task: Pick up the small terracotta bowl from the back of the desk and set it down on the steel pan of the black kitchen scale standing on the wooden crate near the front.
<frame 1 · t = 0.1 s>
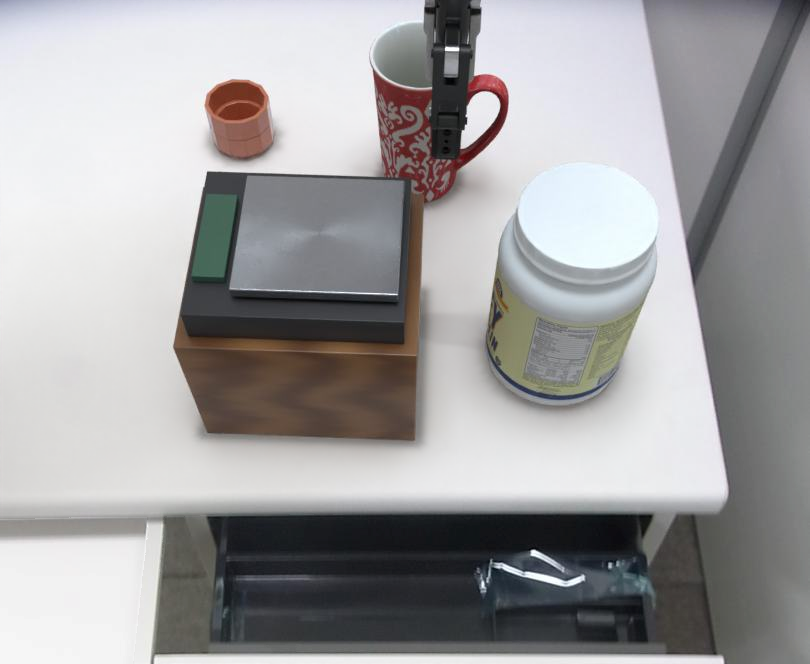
hand: (446, 117, 66), 16 cm above the table, tool pointing down, fingers open, 8 cm apart
scale pan: (320, 236, 62), point 15 cm above the table, slide at -0.2 cm
bowl: (244, 139, 87), on the table
scale: (304, 266, 65), resting on crate
supplement tub: (550, 356, 76), on the table
mug: (435, 182, 85), on the table
crate: (318, 360, 76), on the table
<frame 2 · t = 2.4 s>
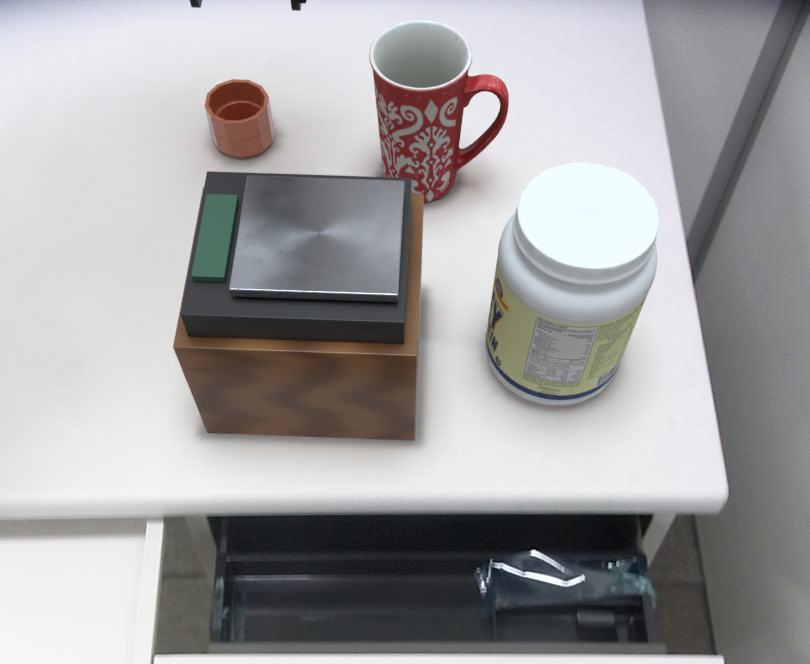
hand: (247, 3, 71), 16 cm above the table, tool pointing down, fingers open, 8 cm apart
nothing on the table moved.
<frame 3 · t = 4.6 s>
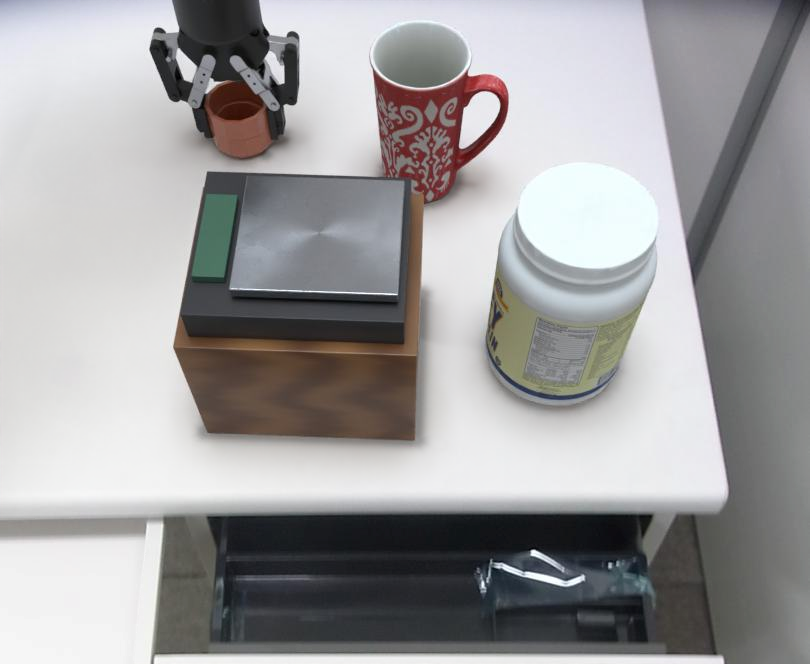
hand: (242, 133, 86), 1 cm above the table, tool pointing down, fingers closed on bowl, 6 cm apart
bowl: (244, 139, 87), on the table, touching gripper
everything else where it was.
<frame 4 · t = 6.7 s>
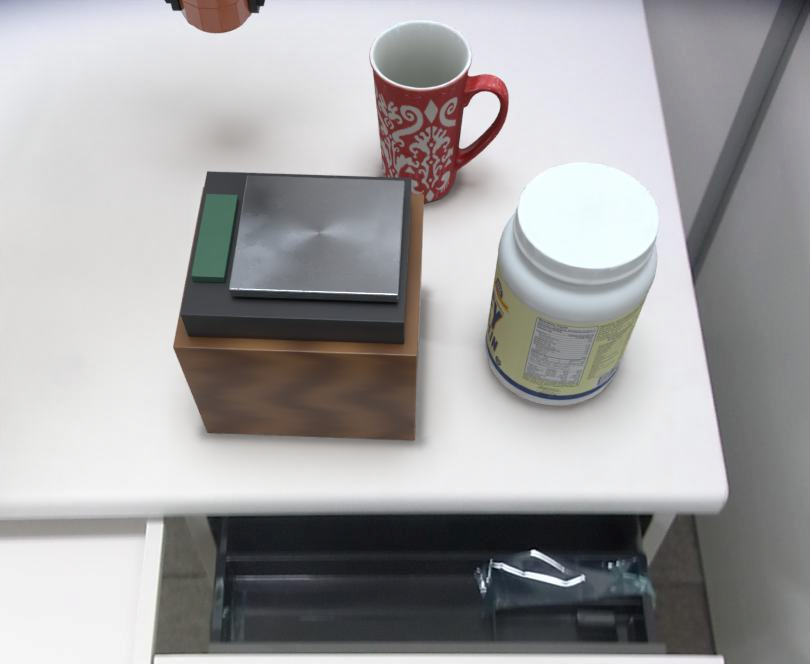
hand: (217, 5, 74), 14 cm above the table, tool pointing down, fingers closed on bowl, 6 cm apart
bowl: (218, 13, 75), point 13 cm above the table, touching gripper
everything else where it was.
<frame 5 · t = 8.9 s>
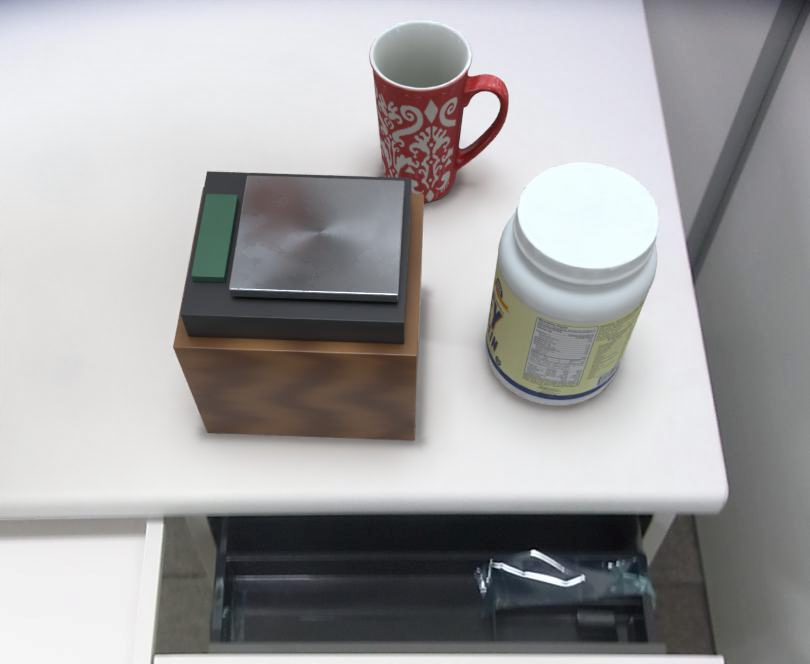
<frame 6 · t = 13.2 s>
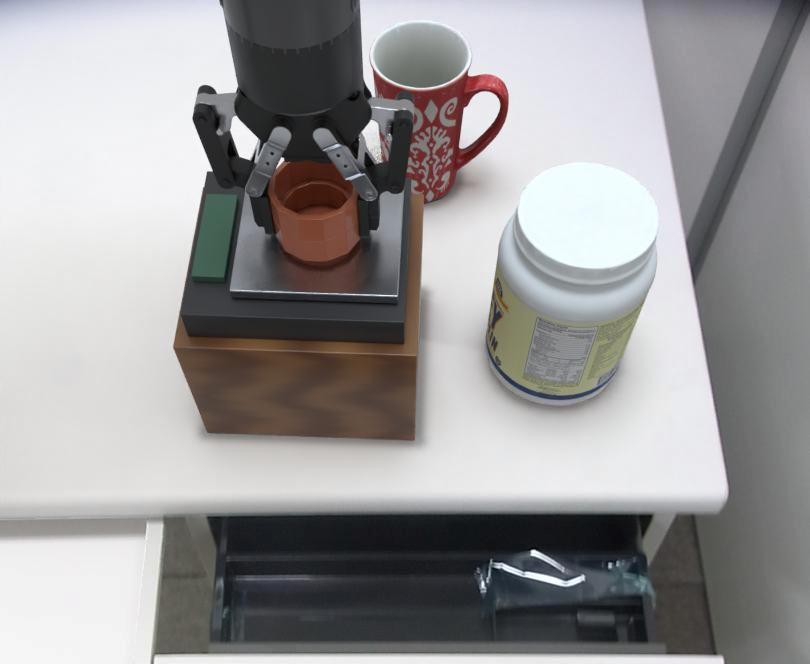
hand: (318, 226, 61), 16 cm above the table, tool pointing down, fingers closed on bowl, 6 cm apart
scale pan: (320, 238, 62), point 15 cm above the table, slide at -0.4 cm, touching bowl
bowl: (319, 233, 61), point 15 cm above the table, touching gripper, scale pan
everything else where it was.
when the fingers open (16 cm above the table, at t = 13.4 s): bowl stays where it is, resting on scale pan.
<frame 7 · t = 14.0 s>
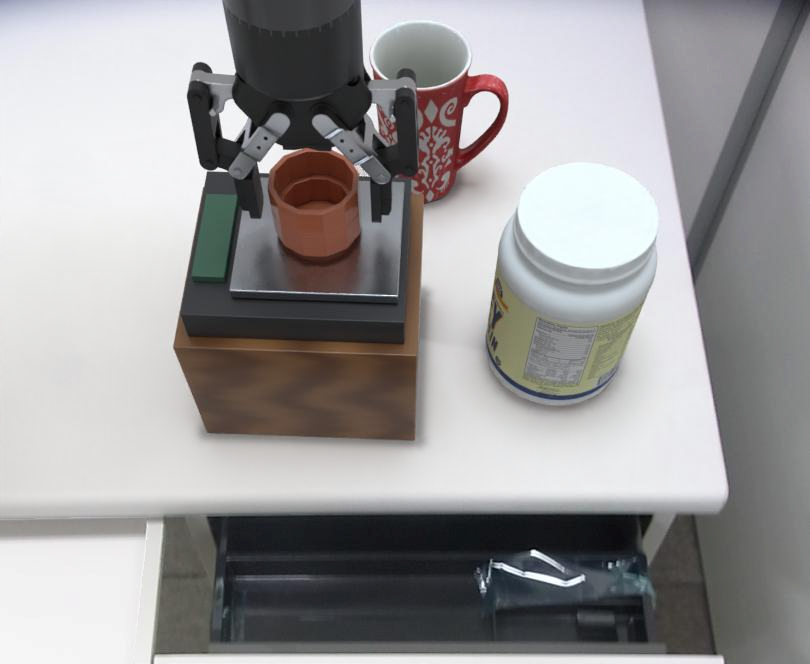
hand: (317, 212, 59), 18 cm above the table, tool pointing down, fingers open, 8 cm apart
bowl: (319, 229, 62), point 15 cm above the table, touching scale pan
everything else where it was.
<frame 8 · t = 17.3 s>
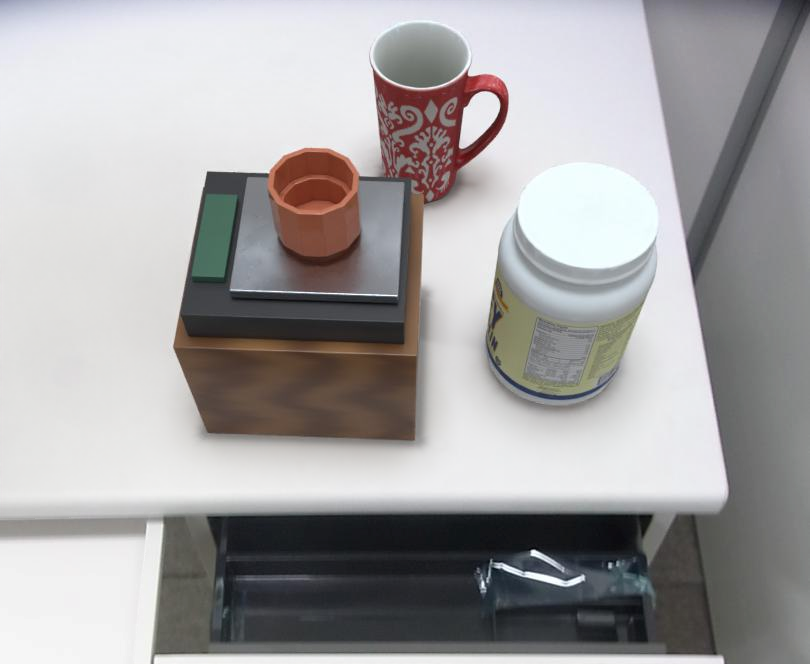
nothing on the table moved.
at the end: bowl inside the target area on the scale (0.5 cm from its centre), point 3.5 cm above the scale's base; bowl tilted 0°; the gripper is holding nothing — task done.
